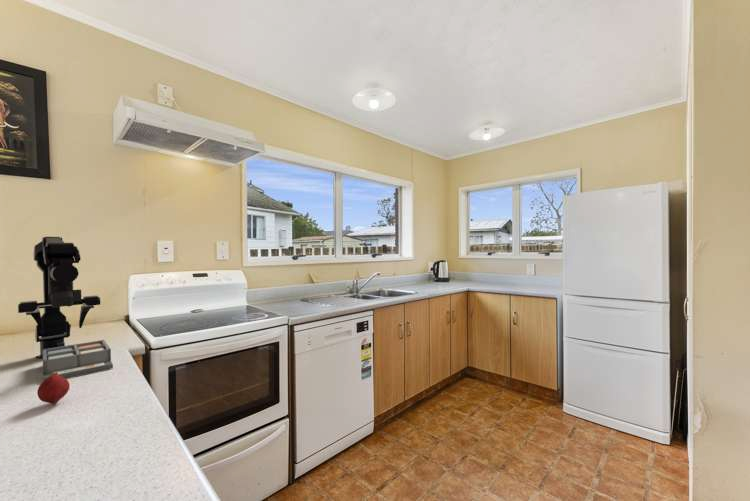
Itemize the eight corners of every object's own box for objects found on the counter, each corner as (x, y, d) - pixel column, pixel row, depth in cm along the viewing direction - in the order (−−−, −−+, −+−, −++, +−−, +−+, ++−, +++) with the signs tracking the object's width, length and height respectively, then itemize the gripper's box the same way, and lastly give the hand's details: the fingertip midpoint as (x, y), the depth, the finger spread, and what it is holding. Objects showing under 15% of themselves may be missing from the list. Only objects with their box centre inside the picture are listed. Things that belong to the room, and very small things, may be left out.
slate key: (47, 356, 111) (47, 351, 111) (72, 352, 115) (72, 347, 115) (48, 360, 107) (48, 356, 106) (73, 356, 111) (73, 351, 111)
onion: (49, 410, 81) (48, 377, 81) (31, 408, 82) (30, 376, 82) (75, 399, 86) (74, 369, 86) (58, 397, 88) (57, 367, 87)
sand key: (80, 356, 111) (80, 351, 111) (103, 351, 115) (103, 347, 115) (81, 360, 107) (81, 355, 107) (105, 355, 111) (105, 351, 111)
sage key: (48, 361, 105) (48, 357, 105) (73, 357, 110) (73, 352, 110) (48, 366, 101) (48, 361, 101) (75, 361, 106) (75, 357, 105)
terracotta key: (78, 351, 116) (78, 346, 116) (100, 347, 120) (100, 343, 120) (79, 355, 112) (79, 350, 112) (102, 350, 116) (102, 346, 116)
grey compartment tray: (42, 365, 111) (42, 349, 111) (104, 354, 122) (104, 339, 122) (43, 383, 97) (43, 364, 97) (112, 368, 108) (112, 351, 108)
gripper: (17, 285, 93) (18, 341, 93) (102, 280, 106) (103, 328, 106) (18, 283, 101) (19, 334, 101) (97, 279, 114) (98, 324, 114)
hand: (62, 330), depth 105 cm, fingers open, 8 cm apart
